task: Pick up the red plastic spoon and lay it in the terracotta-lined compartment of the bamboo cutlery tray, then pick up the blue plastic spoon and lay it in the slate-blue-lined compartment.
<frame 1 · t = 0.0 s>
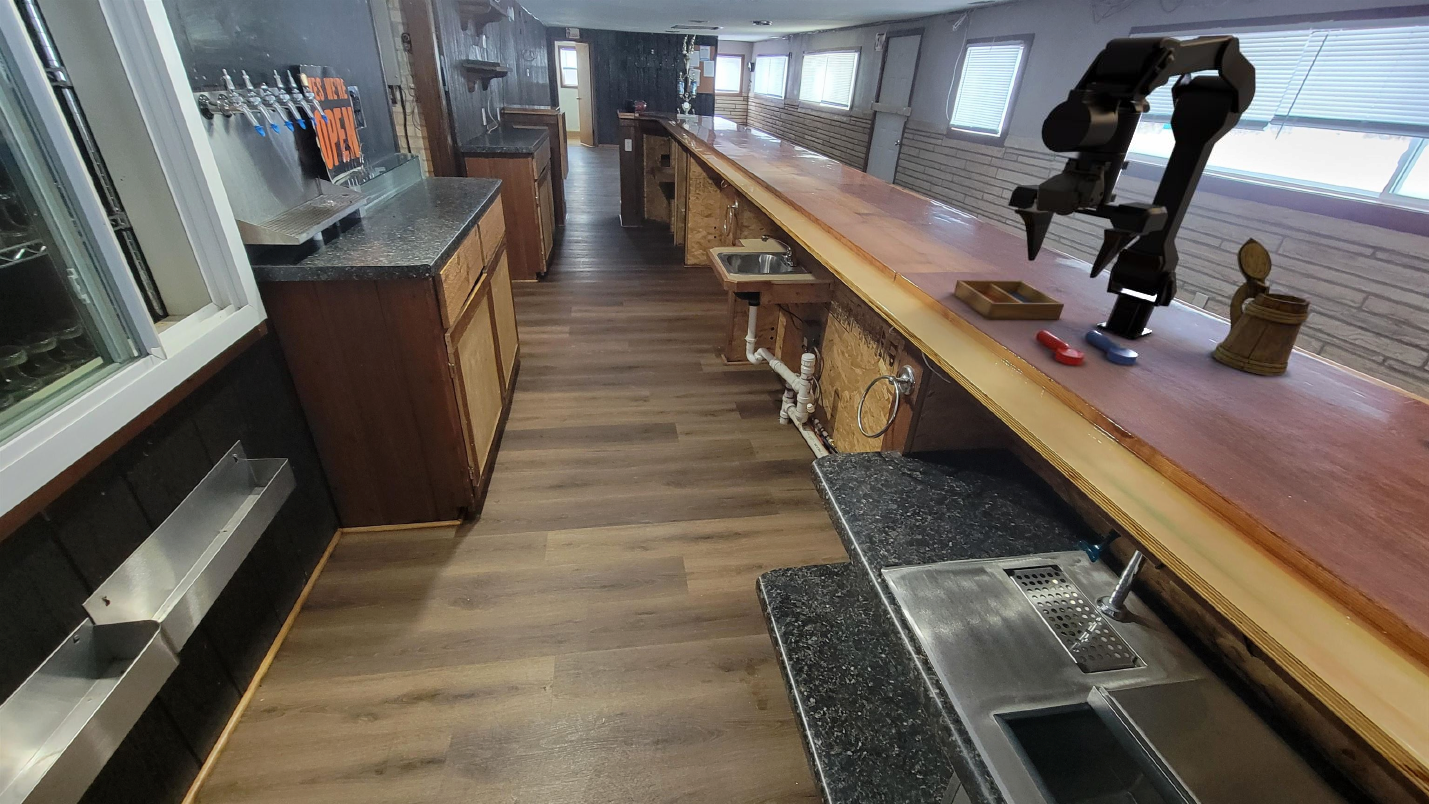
hand: (1060, 268, 81), 15 cm above the counter, tool pointing down, fingers open, 9 cm apart
red spoon: (1055, 352, 92), on the counter
wooden mug: (1233, 358, 93), on the counter
cutlery tray: (1003, 306, 111), on the counter
blue spoon: (1106, 351, 93), on the counter
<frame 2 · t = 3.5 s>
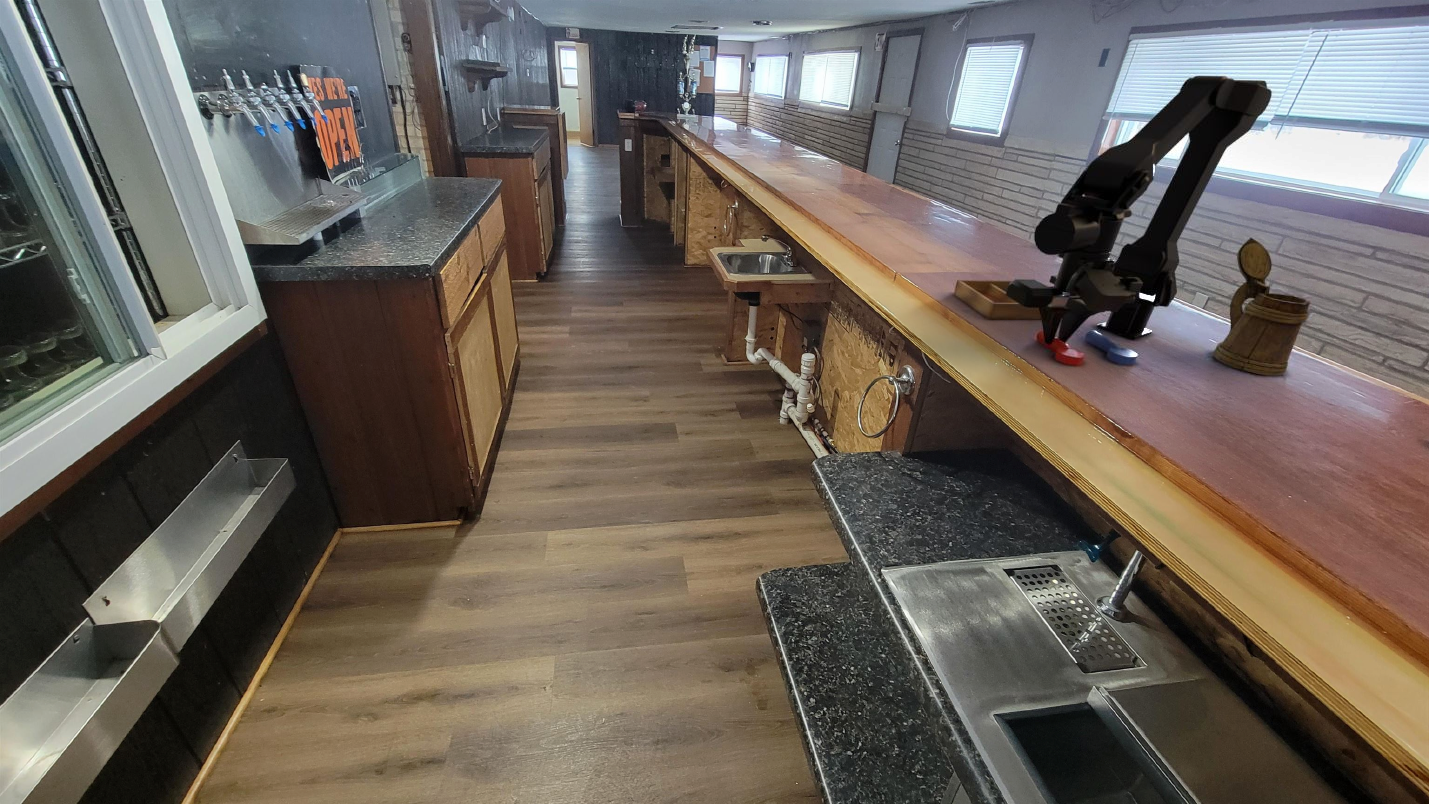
hand: (1054, 343, 92), 1 cm above the counter, tool pointing down, fingers closed on red spoon, 2 cm apart
red spoon: (1055, 352, 92), on the counter, touching gripper
everything else where it was.
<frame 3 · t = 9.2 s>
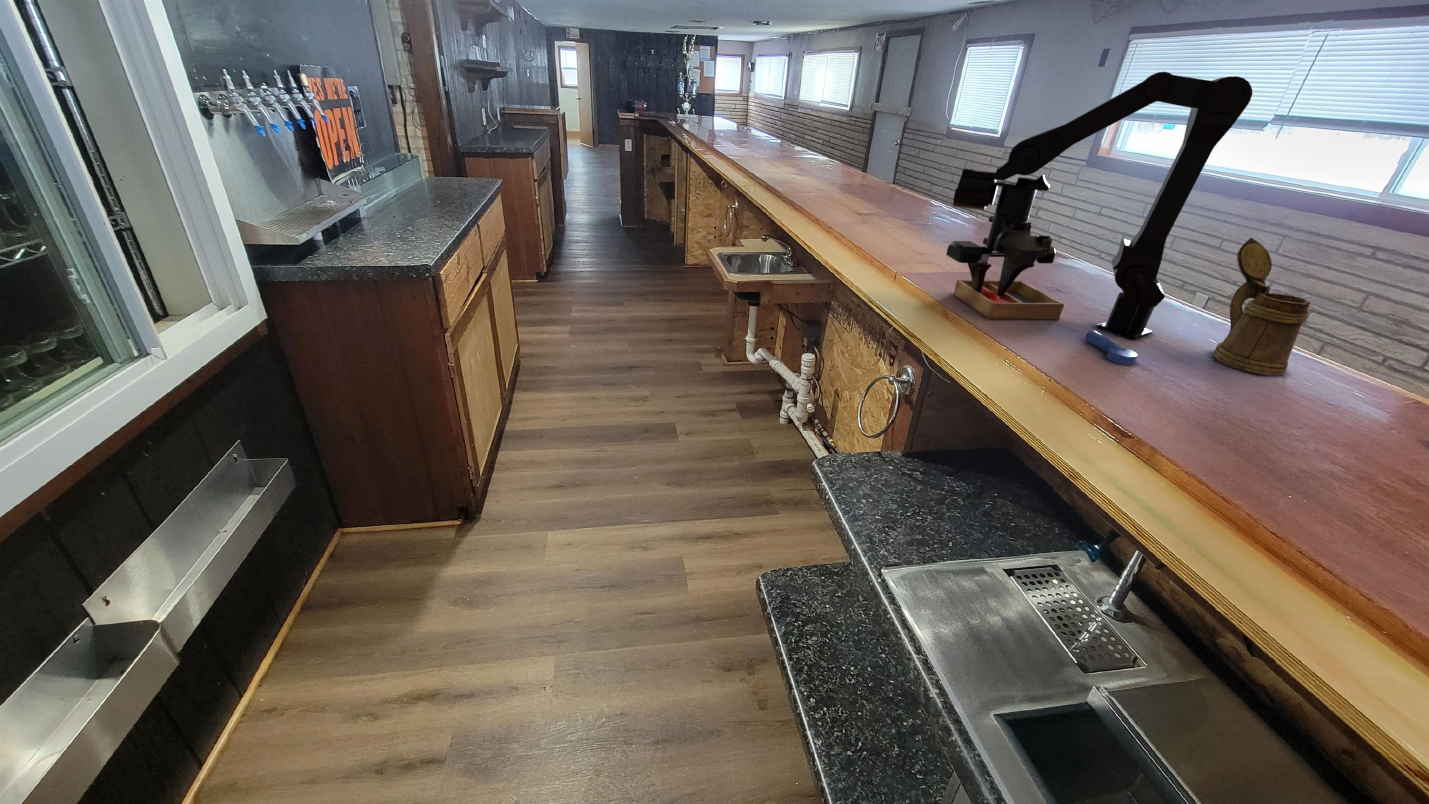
hand: (988, 295, 110), 2 cm above the counter, tool pointing down, fingers open, 4 cm apart
red spoon: (989, 302, 110), point 1 cm above the counter, touching cutlery tray
everything else where it was.
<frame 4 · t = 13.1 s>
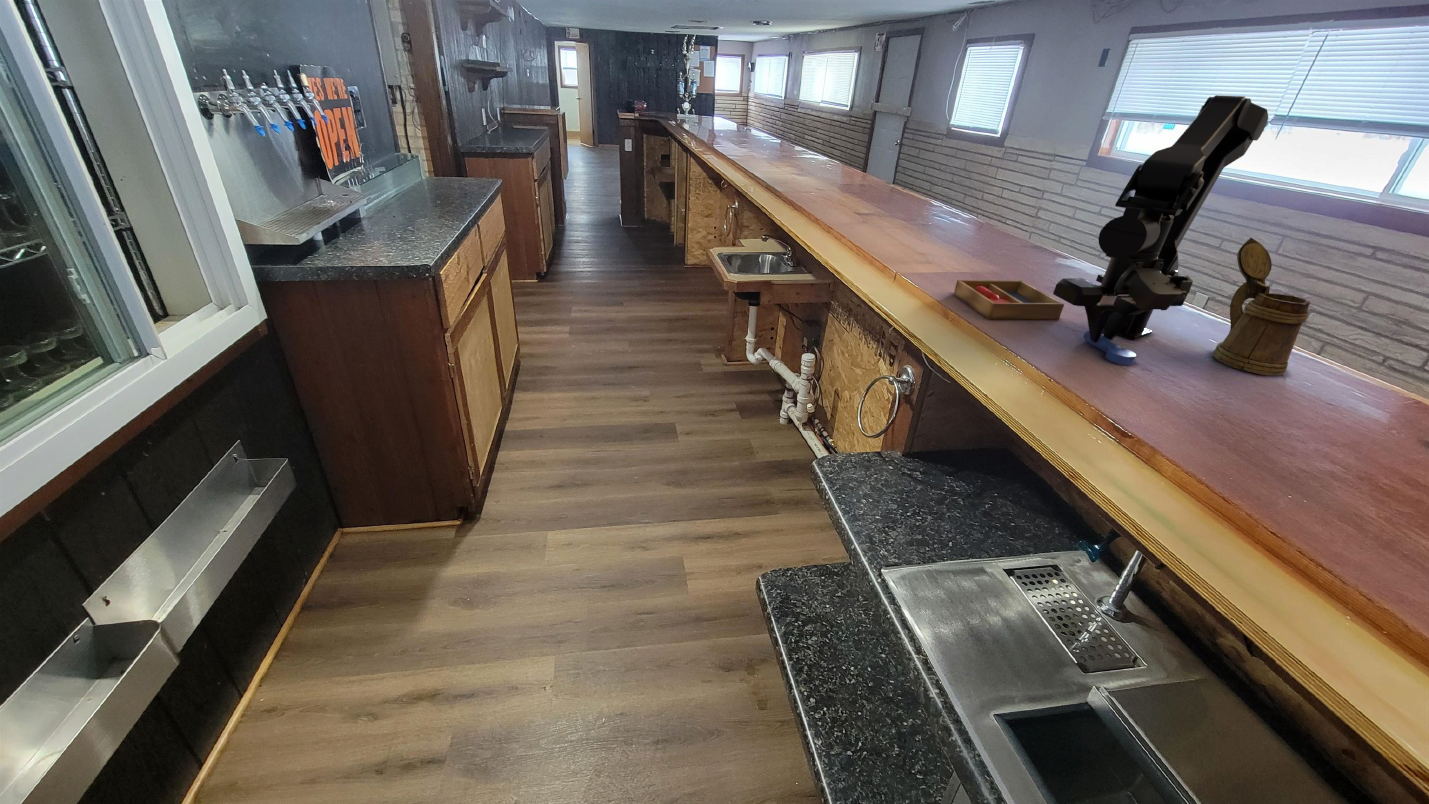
hand: (1099, 341, 94), 1 cm above the counter, tool pointing down, fingers closed on blue spoon, 2 cm apart
blue spoon: (1105, 351, 93), on the counter, touching gripper
everything else where it was.
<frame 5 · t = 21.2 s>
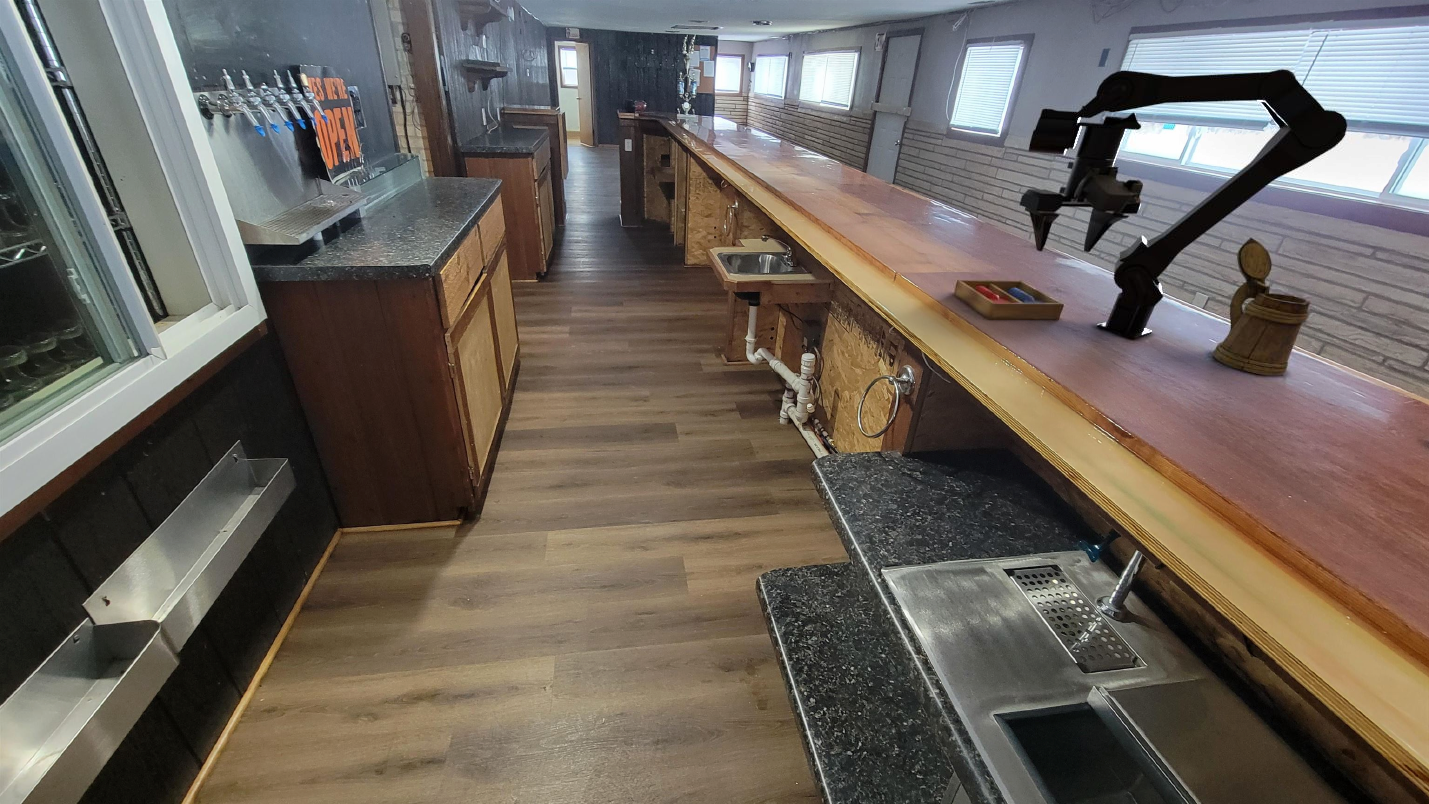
hand: (1062, 251, 102), 12 cm above the counter, tool pointing down, fingers open, 9 cm apart
blue spoon: (1023, 304, 110), point 1 cm above the counter, touching cutlery tray
everything else where it was.
at the end: red spoon 0.1 cm from the target spot, point 0.7 cm above the counter; blue spoon 0.8 cm from the target spot, point 0.7 cm above the counter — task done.
